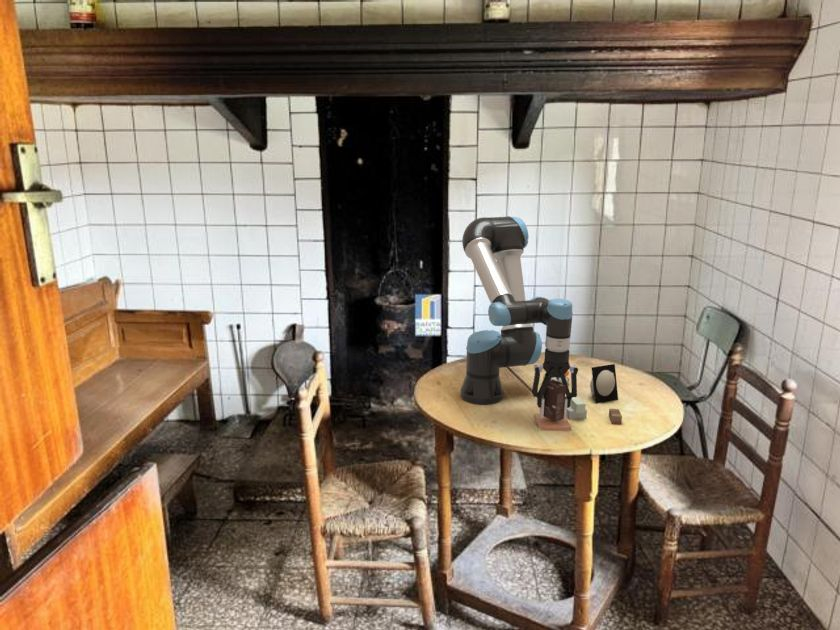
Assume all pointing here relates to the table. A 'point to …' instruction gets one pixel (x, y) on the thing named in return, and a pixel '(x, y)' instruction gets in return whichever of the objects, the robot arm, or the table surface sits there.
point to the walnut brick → (615, 416)
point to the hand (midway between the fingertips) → (552, 416)
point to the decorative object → (604, 383)
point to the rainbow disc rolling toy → (560, 378)
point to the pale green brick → (577, 405)
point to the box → (554, 400)
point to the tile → (551, 423)
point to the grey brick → (575, 414)
